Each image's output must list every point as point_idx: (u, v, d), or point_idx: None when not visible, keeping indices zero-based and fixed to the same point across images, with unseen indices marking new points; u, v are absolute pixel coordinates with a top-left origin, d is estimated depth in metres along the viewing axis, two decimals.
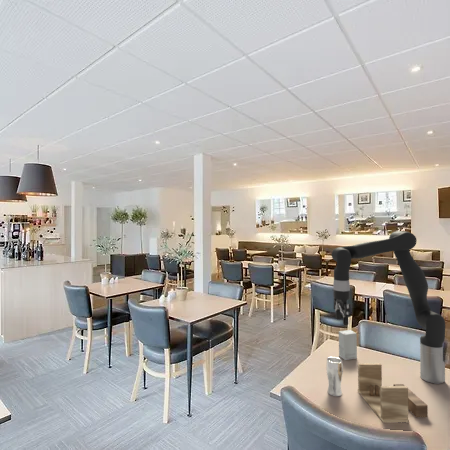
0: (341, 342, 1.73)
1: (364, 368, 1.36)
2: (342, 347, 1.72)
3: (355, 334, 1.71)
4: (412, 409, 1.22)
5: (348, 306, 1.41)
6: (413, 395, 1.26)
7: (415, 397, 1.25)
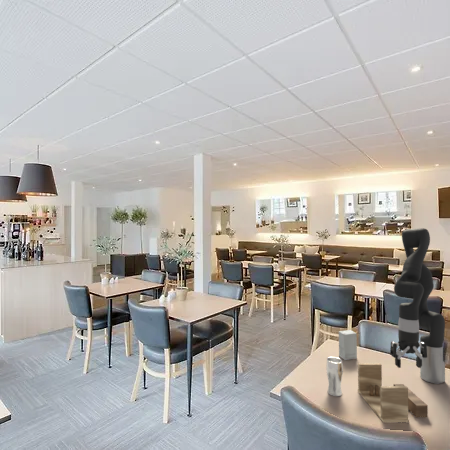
0: (341, 342, 1.73)
1: (364, 368, 1.36)
2: (342, 347, 1.72)
3: (355, 334, 1.71)
4: (412, 409, 1.22)
5: None
6: (413, 395, 1.26)
7: (415, 397, 1.25)
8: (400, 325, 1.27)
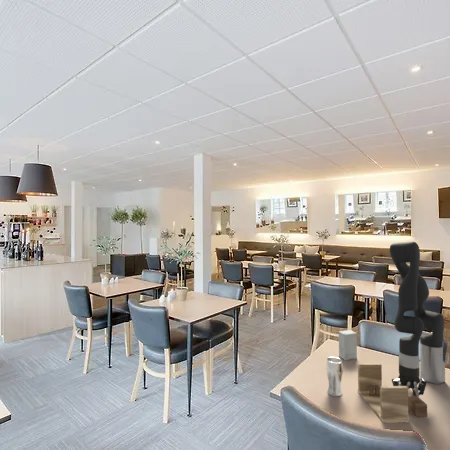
0: (341, 342, 1.73)
1: (364, 368, 1.36)
2: (342, 347, 1.72)
3: (355, 334, 1.71)
4: (411, 409, 1.22)
5: None
6: (413, 395, 1.26)
7: (415, 396, 1.25)
8: (400, 360, 1.27)
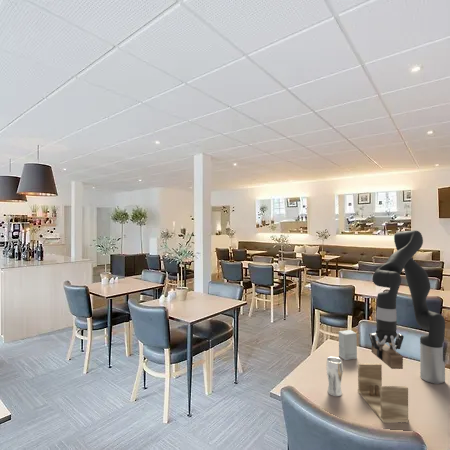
0: (341, 342, 1.73)
1: (364, 368, 1.36)
2: (342, 347, 1.72)
3: (355, 334, 1.71)
4: (388, 361, 1.22)
5: None
6: (390, 349, 1.26)
7: (391, 350, 1.24)
8: (378, 314, 1.27)
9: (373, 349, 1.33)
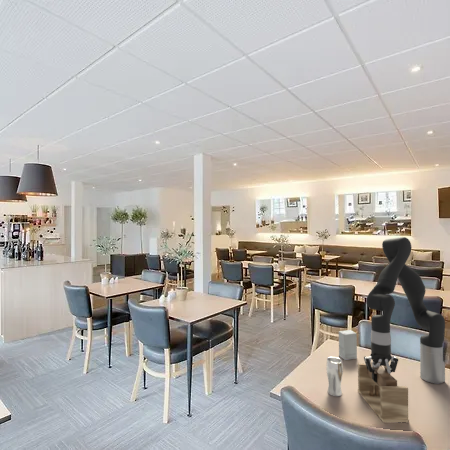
0: (341, 342, 1.73)
1: (364, 368, 1.36)
2: (342, 347, 1.72)
3: (355, 334, 1.71)
4: (382, 385, 1.22)
5: None
6: (385, 372, 1.26)
7: (386, 373, 1.25)
8: (372, 337, 1.27)
9: (368, 371, 1.34)
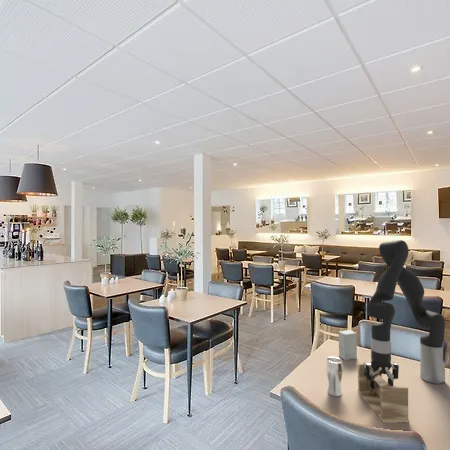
0: (341, 342, 1.73)
1: None
2: (342, 347, 1.72)
3: (355, 334, 1.71)
4: None
5: None
6: (385, 383, 1.26)
7: (386, 384, 1.25)
8: (372, 346, 1.27)
9: (368, 381, 1.34)
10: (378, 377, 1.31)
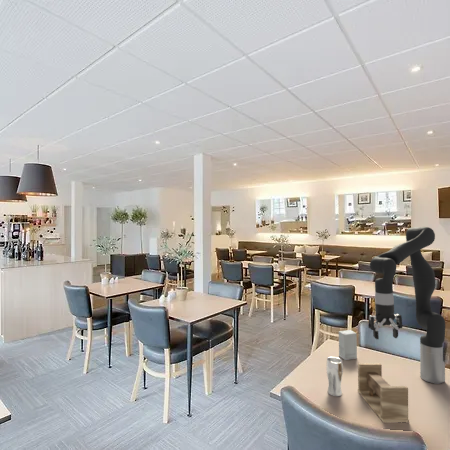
0: (341, 342, 1.73)
1: (364, 368, 1.36)
2: (342, 347, 1.72)
3: (355, 334, 1.71)
4: None
5: None
6: (385, 383, 1.26)
7: (386, 384, 1.25)
8: (376, 299, 1.35)
9: (368, 381, 1.34)
10: (378, 377, 1.31)
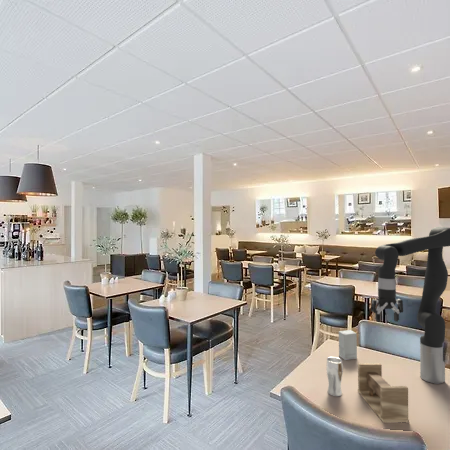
0: (341, 342, 1.73)
1: (364, 368, 1.36)
2: (342, 347, 1.72)
3: (355, 334, 1.71)
4: None
5: None
6: (385, 383, 1.26)
7: (386, 384, 1.25)
8: (379, 284, 1.44)
9: (368, 381, 1.34)
10: (378, 377, 1.31)
